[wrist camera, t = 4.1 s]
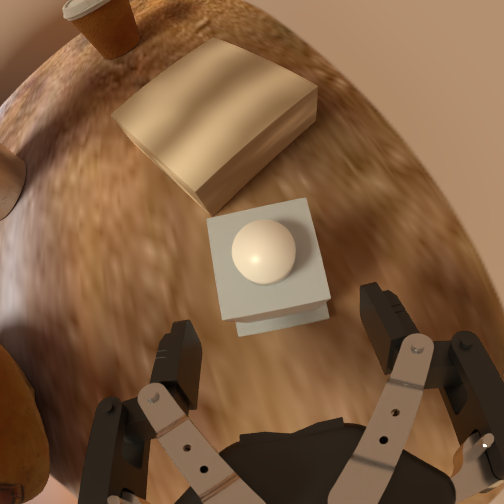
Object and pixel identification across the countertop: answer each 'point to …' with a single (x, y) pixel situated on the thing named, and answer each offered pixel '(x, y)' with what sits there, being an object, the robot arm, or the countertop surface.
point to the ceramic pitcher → (20, 436)
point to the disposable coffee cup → (105, 24)
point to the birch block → (217, 119)
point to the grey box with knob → (268, 267)
